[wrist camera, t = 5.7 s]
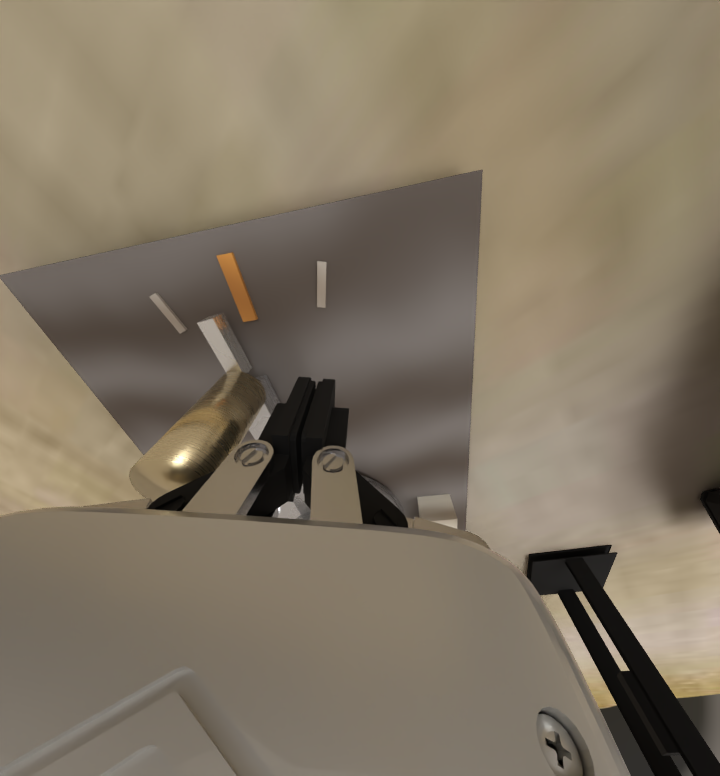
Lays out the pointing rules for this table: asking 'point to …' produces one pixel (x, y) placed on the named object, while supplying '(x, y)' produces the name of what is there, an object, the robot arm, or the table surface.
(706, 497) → the toy
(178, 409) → the level board
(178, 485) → the crank handle
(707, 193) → the table surface
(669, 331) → the table surface
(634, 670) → the handbag
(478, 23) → the table surface
